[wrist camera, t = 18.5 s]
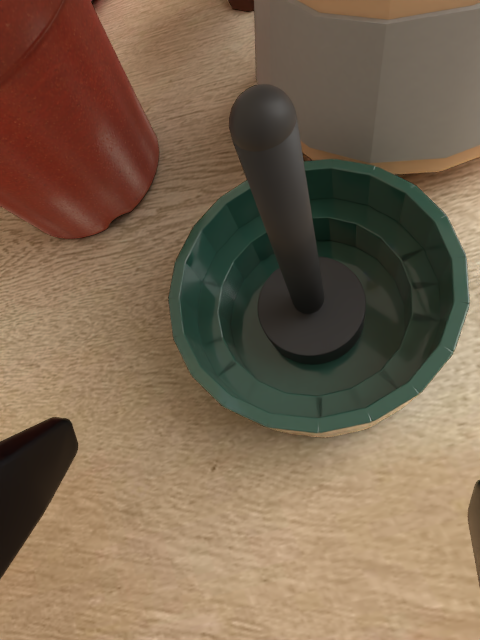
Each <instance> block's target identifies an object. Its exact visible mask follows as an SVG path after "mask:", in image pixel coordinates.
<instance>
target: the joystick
mask: <svg viewBox="0 0 480 640" xmlns="http://www.w3.org/2000/svg"><path fill="white" fill-rule="evenodd" d="M229 129H230V134H231V138H232V140H233V143H234V146H235V149H236V151H237V154H238V157H239V159H240V162H241V165H242V167H243V170H244V173H245V176H246V178H247V181H248V184H249V186H250V189H251V192H252V194H253V197H254V200H255V202H256V205H257V208H258V211H259V213H260V216H261V219H262V221H263V224H264V227H265V229H266V232H267V235H268V238H269V240H270V243H271V246H272V248H273V251H274V254H275V256H276V259H277V262H278V264H279V268H278V269H277V270H275V271H274V272H273V273H272V274H271V275H270V277H269V278H268V279H267V280H266V282H265V284H264V285H263V287H262V290H261V292H260V295H259V299H258V318H259V322H260V325H261V327H262V329H263V331H264V333H265V334H266V336H267V337H268V339H269V340H270V341H271V343H272V344H273V346H274V347H275V348H276V349H277V350H278V351H279V352H280V353H281V354H283V355H284V356H285V357H287V358H289V359H291V360H293V361H296V362H299V363H304V364H322V363H327V362H330V361H333V360H335V359H337V358H339V357H341V356H343V355H344V354H345V353H347V352H348V351H349V350H350V349H351V348H352V347H353V346H354V345H355V343H356V342H357V340H358V339H359V337H360V335H361V332H362V330H363V326H364V320H365V312H366V297H365V293H364V289H363V287H362V284H361V283H360V281H359V279H358V278H357V276H356V275H355V274H354V273H353V272H352V271H351V270H350V269H349V268H348V267H346V266H345V265H343V264H342V263H340V262H338V261H336V260H333V259H330V258H326V257H320V256H318V252H317V245H316V239H315V232H314V226H313V219H312V213H311V206H310V200H309V193H308V187H307V180H306V174H305V167H304V161H303V154H302V147H301V141H300V134H299V128H298V121H297V115H296V111H295V108H294V105H293V103H292V101H291V99H290V98H289V96H288V95H287V94H286V93H285V92H284V91H283V90H281V89H280V88H278V87H276V86H273V85H270V84H259V85H254V86H252V87H250V88H248V89H246V90H245V91H244V92H242V93H241V94H240V95H239V96H238V98H237V99H236V101H235V102H234V104H233V106H232V109H231V113H230V117H229Z"/></svg>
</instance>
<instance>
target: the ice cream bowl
mask: <svg viewBox="0 0 480 640" xmlns="http://www.w3.org/2000/svg"><path fill="white" fill-rule="evenodd" d="M228 1H229V3H230V5H231V6H232V8H233V9H237V10H242V11H247V12H249V11H252V10H254V0H228Z"/></svg>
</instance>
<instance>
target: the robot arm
mask: <svg viewBox="0 0 480 640" xmlns="http://www.w3.org/2000/svg"><path fill="white" fill-rule="evenodd" d="M77 450H78V442H77V438H76V435H75V432H74V429H73V426H72V423H71V421H70V420H69V419H66V418H59V417H52V418H50V419H47V420H45V421H43V422H41V423H39V424H37V425H35V426H33V427H30V428H28V429H26V430H24V431H22V432H20V433H18V434H15V435H13V436H11V437H9V438H7V439H5V440H3V441H0V579H1V577H2V576H3V574H4V573H5V571H6V570H7V568H8V567H9V565H10V564H11V562H12V561H13V559H14V558H15V556H16V555H17V553H18V552H19V550H20V549H21V547H22V546H23V544H24V543H25V541H26V540H27V538H28V537H29V535H30V534H31V532H32V531H33V529H34V528H35V526H36V525H37V523H38V521H39V520H40V518H41V517H42V515H43V514H44V512H45V510H46V509H47V507H48V505H49V503H50V502H51V500H52V498H53V496H54V494H55V492H56V490H57V489H58V487H59V485H60V483H61V481H62V479H63V478H64V476H65V474H66V472H67V470H68V468H69V467H70V465H71V463H72V461H73V459H74V457H75V456H76V453H77ZM468 524H469V530H470V535H471V541H472V546H473V552H474V558H475V563H476V569H477V575H478V580H479V586H480V480H478V481H477V482H476V484H475V487H474V490H473V494H472V497H471V501H470V504H469V508H468Z"/></svg>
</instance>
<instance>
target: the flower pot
mask: <svg viewBox="0 0 480 640" xmlns="http://www.w3.org/2000/svg"><path fill="white" fill-rule="evenodd" d="M158 159H159V147H158V141H157V137H156V135H155V133H154V131H153V129H152V127H151V125H150V123H149V121H148V119H147V117H146V115H145V113H144V111H143V109H142V107H141V105H140V103H139V101H138V99H137V96H136V94H135V92H134V90H133V88H132V86H131V84H130V82H129V80H128V78H127V76H126V74H125V72H124V70H123V68H122V66H121V64H120V61H119V59H118V57H117V55H116V53H115V51H114V49H113V47H112V45H111V43H110V41H109V39H108V37H107V35H106V32H105V30H104V28H103V26H102V24H101V22H100V20H99V18H98V16H97V14H96V12H95V10H94V8H93V5H92V3H91V1H90V0H0V206H1V207H3V208H4V209H6V210H8V211H9V212H11V213H13V214H14V215H16V216H18V217H20V218H21V219H23V220H25V221H26V222H28V223H30V224H32V225H33V226H35V227H37V228H38V229H40V230H41V231H43V232H45V233H47V234H49V235H51V236H54V237H58V238H66V239H74V238H83V237H87V236H91V235H94V234H97V233H99V232H101V231H104V230H106V229H107V228H108V227H109V224H110V223H111V221H112V220H114V219H115V218H117V217H118V216H120V215H122V214H125V213H129V212H131V211H132V210H133V209H134V208H135V207H136V206H137V205H138V204H139V202H140V201H141V200H142V198H143V197H144V196H145V194H146V192H147V191H148V189H149V187H150V185H151V183H152V181H153V178H154V176H155V173H156V170H157V166H158Z"/></svg>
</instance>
